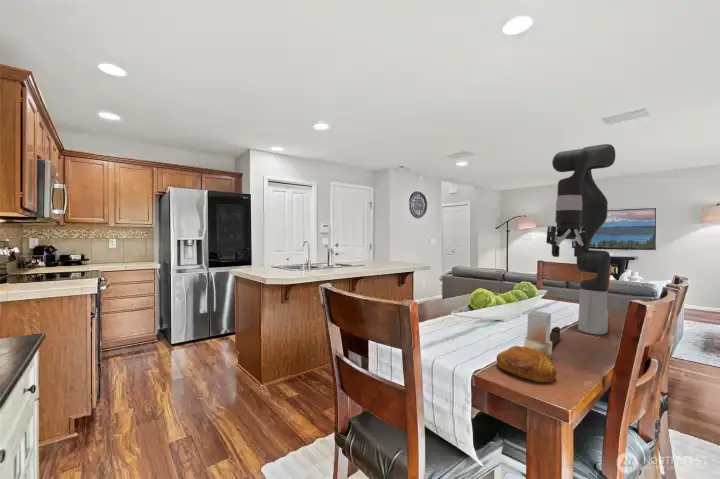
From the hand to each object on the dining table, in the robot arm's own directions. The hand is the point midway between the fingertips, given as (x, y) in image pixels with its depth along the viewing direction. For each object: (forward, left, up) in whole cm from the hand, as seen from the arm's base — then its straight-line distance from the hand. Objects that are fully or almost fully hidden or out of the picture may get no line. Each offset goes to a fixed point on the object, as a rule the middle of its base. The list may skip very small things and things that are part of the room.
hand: (566, 256), depth 112 cm
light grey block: (+13, +4, -27) cm, 30 cm away
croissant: (+25, +15, -32) cm, 43 cm away
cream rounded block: (+13, +4, -32) cm, 35 cm away
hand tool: (0, -6, -33) cm, 33 cm away
